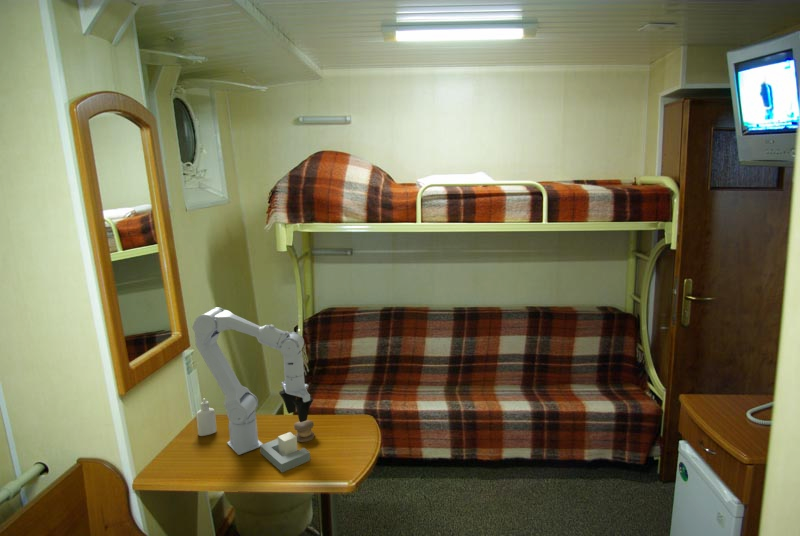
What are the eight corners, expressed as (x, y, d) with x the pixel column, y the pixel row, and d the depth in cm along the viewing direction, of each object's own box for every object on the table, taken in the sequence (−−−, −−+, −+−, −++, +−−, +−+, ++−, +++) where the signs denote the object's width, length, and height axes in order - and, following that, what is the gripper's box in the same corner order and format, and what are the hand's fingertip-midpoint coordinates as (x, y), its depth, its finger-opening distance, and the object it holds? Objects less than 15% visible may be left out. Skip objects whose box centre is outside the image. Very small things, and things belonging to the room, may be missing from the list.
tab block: (279, 455, 145) (277, 436, 144) (291, 450, 147) (289, 431, 146) (285, 460, 142) (284, 441, 141) (297, 455, 144) (296, 436, 144)
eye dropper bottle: (201, 429, 162) (198, 395, 160) (218, 429, 162) (215, 395, 160) (196, 436, 158) (192, 401, 156) (213, 436, 157) (209, 401, 156)
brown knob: (291, 437, 155) (290, 424, 154) (308, 430, 159) (307, 418, 158) (301, 444, 151) (300, 430, 150) (317, 437, 154) (317, 424, 154)
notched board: (260, 452, 146) (259, 445, 146) (287, 442, 152) (287, 434, 152) (282, 472, 136) (281, 464, 135) (310, 460, 141) (309, 452, 141)
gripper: (318, 377, 143) (320, 420, 145) (294, 364, 154) (297, 404, 156) (296, 383, 138) (299, 428, 140) (274, 370, 149) (277, 411, 151)
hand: (297, 416), depth 148 cm, fingers open, 7 cm apart
